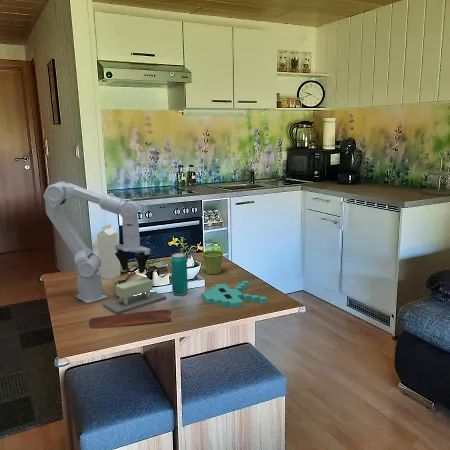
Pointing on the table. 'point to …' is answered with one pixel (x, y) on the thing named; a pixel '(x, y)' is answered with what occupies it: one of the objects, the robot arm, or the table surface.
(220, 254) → the plant pot
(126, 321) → the wooden tablet
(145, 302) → the peg rack
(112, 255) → the milk
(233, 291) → the alien figure
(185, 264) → the beverage can
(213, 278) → the table surface
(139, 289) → the pale green block
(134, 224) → the robot arm
